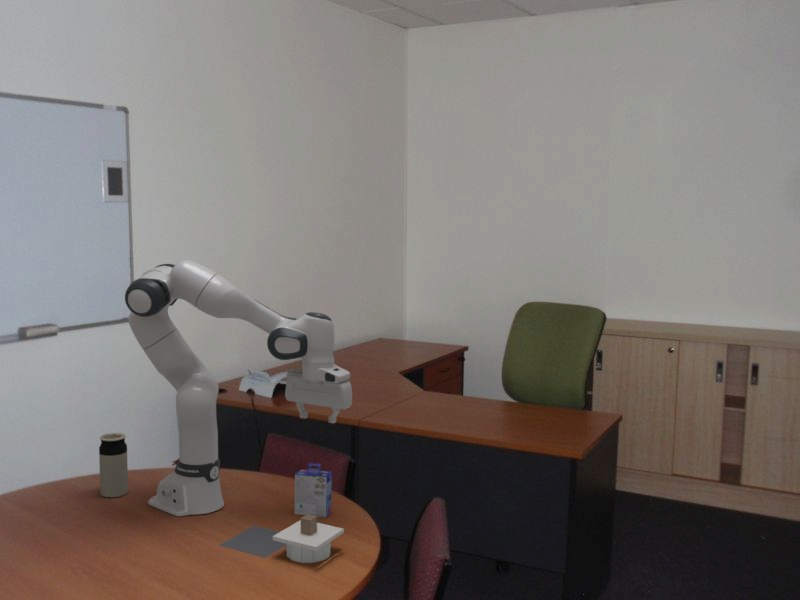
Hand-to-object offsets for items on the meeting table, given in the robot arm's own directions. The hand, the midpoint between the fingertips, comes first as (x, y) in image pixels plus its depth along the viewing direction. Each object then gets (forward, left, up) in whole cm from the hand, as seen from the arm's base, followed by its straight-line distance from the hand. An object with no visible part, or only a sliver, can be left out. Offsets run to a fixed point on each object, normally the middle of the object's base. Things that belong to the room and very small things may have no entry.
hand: (317, 420), depth 230 cm
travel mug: (-65, -13, -29) cm, 73 cm away
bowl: (+10, -20, -29) cm, 37 cm away
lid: (+10, -20, -24) cm, 33 cm away
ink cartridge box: (-4, +4, -29) cm, 30 cm away
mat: (-5, -20, -29) cm, 36 cm away
